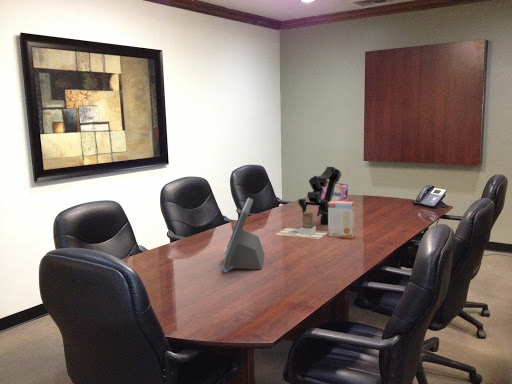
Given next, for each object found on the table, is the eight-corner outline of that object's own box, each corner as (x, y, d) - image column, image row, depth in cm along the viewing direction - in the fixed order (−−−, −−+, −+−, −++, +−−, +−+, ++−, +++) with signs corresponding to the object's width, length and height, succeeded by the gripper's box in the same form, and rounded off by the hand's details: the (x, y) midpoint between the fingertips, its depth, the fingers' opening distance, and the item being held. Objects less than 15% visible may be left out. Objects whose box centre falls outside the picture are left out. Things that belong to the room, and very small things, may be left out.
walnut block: (305, 232, 289) (305, 211, 287) (312, 233, 287) (312, 212, 285) (303, 234, 285) (302, 212, 283) (310, 235, 283) (309, 213, 281)
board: (287, 228, 304) (287, 227, 304) (329, 232, 290) (329, 231, 290) (274, 235, 288) (274, 233, 288) (318, 239, 275) (318, 238, 275)
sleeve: (304, 231, 291) (304, 225, 291) (315, 233, 288) (315, 226, 287) (300, 234, 285) (299, 228, 284) (311, 235, 282) (311, 229, 281)
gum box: (349, 201, 388) (349, 184, 386) (342, 202, 384) (342, 185, 381) (328, 197, 407) (328, 181, 405) (321, 198, 402) (321, 182, 400)
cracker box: (354, 236, 279) (354, 201, 276) (351, 239, 274) (352, 203, 270) (330, 234, 285) (330, 200, 282) (328, 237, 280) (327, 201, 276)
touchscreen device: (228, 251, 256) (228, 196, 251) (265, 252, 255) (265, 197, 250) (219, 273, 222) (218, 209, 217) (261, 274, 221) (262, 210, 216)
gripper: (299, 185, 294) (291, 206, 286) (328, 187, 285) (321, 208, 278) (304, 196, 302) (297, 217, 295) (332, 198, 294) (326, 219, 286)
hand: (310, 215), depth 288 cm, fingers open, 9 cm apart
